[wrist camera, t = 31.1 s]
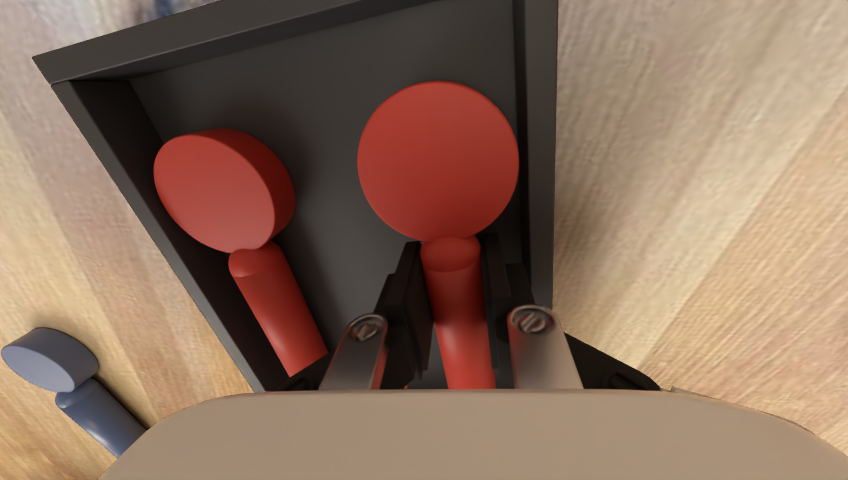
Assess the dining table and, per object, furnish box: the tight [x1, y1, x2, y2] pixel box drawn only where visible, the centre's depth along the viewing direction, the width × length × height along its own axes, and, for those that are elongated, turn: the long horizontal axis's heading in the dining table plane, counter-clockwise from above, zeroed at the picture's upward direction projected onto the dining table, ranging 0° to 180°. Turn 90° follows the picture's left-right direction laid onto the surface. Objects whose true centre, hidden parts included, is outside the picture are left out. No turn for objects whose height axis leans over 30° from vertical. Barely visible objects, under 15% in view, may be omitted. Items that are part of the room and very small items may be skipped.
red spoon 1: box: [153, 128, 329, 377], centre depth 14 cm, size 14×5×2 cm, turn 10°
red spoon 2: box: [357, 81, 519, 389], centre depth 11 cm, size 14×5×2 cm, turn 10°
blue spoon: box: [1, 328, 147, 458], centre depth 23 cm, size 14×5×2 cm, turn 10°
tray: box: [32, 0, 558, 393], centre depth 13 cm, size 20×16×3 cm
